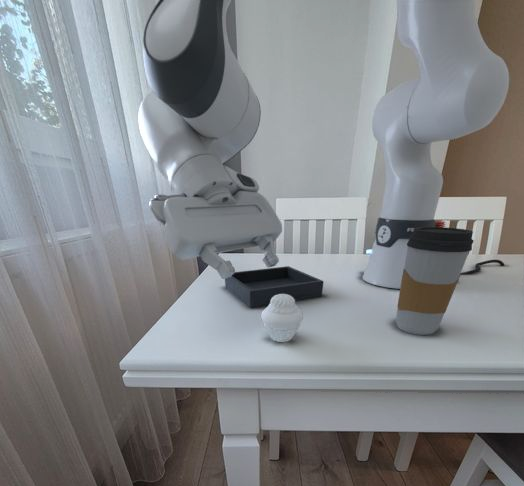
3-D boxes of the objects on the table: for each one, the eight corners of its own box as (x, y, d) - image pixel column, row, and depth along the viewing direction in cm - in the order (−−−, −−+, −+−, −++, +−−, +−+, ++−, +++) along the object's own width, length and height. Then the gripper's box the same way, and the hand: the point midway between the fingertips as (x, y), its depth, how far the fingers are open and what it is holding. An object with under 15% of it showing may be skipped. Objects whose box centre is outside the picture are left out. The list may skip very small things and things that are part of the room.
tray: (287, 279, 74) (288, 266, 72) (322, 296, 62) (323, 280, 61) (225, 287, 68) (224, 273, 66) (250, 308, 56) (249, 291, 54)
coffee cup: (452, 340, 44) (489, 234, 37) (393, 335, 46) (418, 232, 38) (435, 319, 51) (463, 227, 44) (385, 315, 53) (404, 225, 46)
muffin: (300, 329, 47) (303, 287, 44) (302, 347, 42) (306, 301, 39) (262, 328, 48) (262, 286, 44) (259, 346, 42) (259, 300, 39)
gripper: (148, 175, 36) (204, 269, 35) (262, 179, 49) (305, 247, 48) (138, 213, 41) (187, 296, 40) (244, 207, 54) (283, 270, 53)
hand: (253, 269), depth 44 cm, fingers open, 8 cm apart
